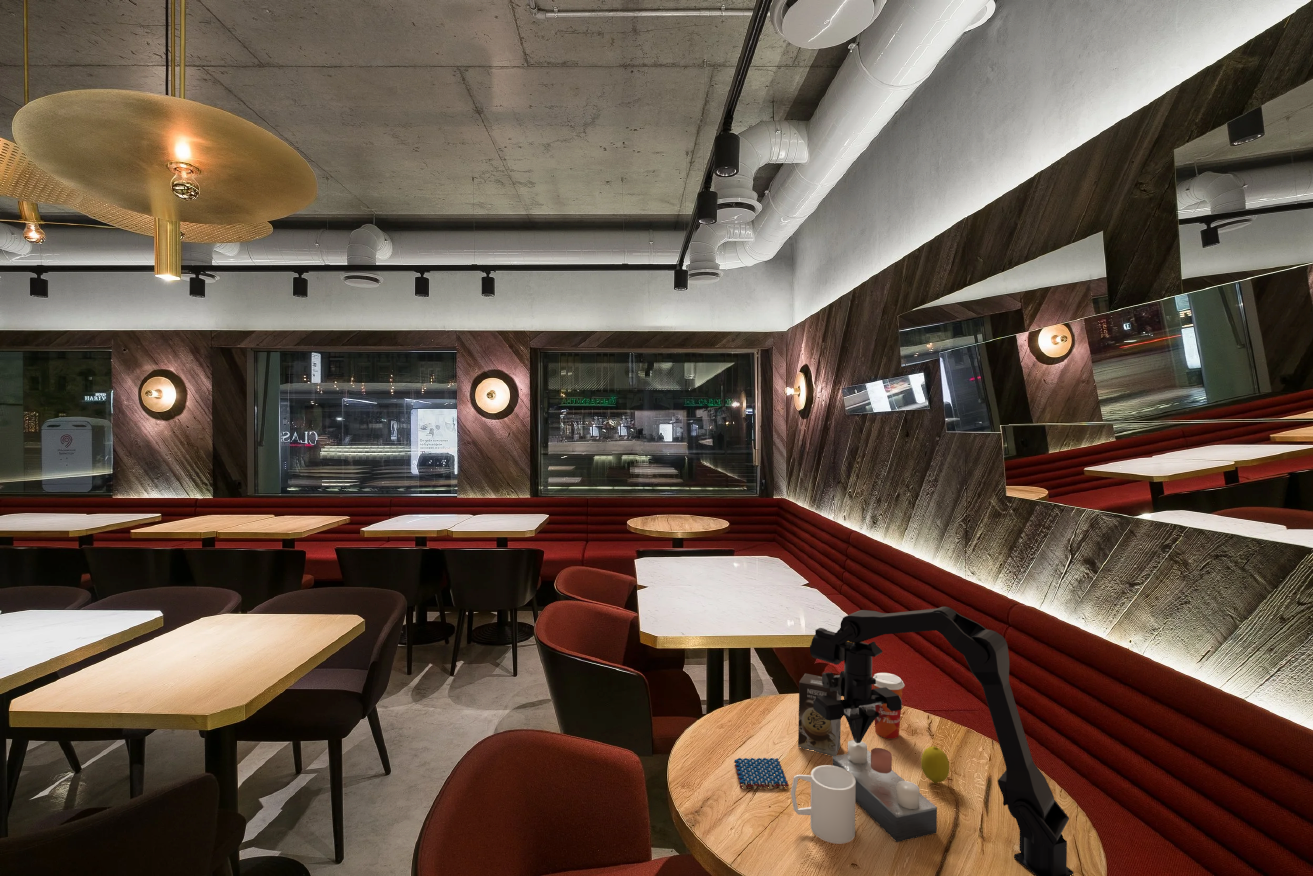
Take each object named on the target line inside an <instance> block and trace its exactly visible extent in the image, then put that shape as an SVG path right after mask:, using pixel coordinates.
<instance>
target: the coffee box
mask: <svg viewBox="0 0 1313 876" xmlns="http://www.w3.org/2000/svg"><path fill="white" fill-rule="evenodd" d="M825 695H831V696H832V697H834V698H835V699H836V700H842V696H840V695H838V691H830V688H824V687H823V684H822V676H820V675H815V674H811V673H804V675H803V676H802V677H801V678H800V680H799V681H798V735H797V737H798V738H797V740H798V741H797V747H801V748H804V749H803V750H805V749H809V750H814V751H816V752H819V753H818V754H820V753H823V754H822V755H824V754H827V755H826V756H828V755H830V756H829V757H832V756H837V755H838V753H839V751H838V750H840V747H841V727H842V726H841V725H842V724H841V723H842V721H841V720H842V718H841V719H837V720H831V721H830V720H826V719H825V718H824V717H822V716H821V715H820V714H819V713H818V712H816V711H815V710H814V709H813V701H814V699H815V698H816V697H818V696H825ZM801 748H800V749H801ZM809 750H808V751H809ZM816 752H815V753H816Z"/></svg>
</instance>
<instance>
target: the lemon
mask: <svg viewBox="0 0 1313 876" xmlns="http://www.w3.org/2000/svg"><path fill="white" fill-rule="evenodd" d="M920 764H921V765H920V766H921V771H922V772H923V774H924V776H925V777H926V778H927V779H928V780H929V781H931V782H932V783H933V784H938V783H942V782H944V781H946V780H947V778H948V776H949V773H950V762H949V759H948V756H947V754H946V753H945V752H944V751H943V750H942V749H941V748H939V747H938V746H936V745H933V746H928V747H926V748H925V749H924V751H923V753H922V755H921V758H920Z"/></svg>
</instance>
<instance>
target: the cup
mask: <svg viewBox="0 0 1313 876" xmlns="http://www.w3.org/2000/svg"><path fill="white" fill-rule="evenodd" d="M799 779H800V780H802V781H806V782H809V783H810V806H808V807H801V808H798V801H797V796H796V791H797V786H798V781H799ZM855 795H856V780H855V777H854V776H853V775H852V774H851V773H850V772H849V771H847V770H845V769H843V768H841V767H837V766H833V764H832V765H831V764H828V765H827V764H823V765H818V766H816V767H813V768H812V770H811V772H810V774H796V775H794V776H793V779H792V785H791V790H790V796H791V802H792V808H793V810H794V812H795V813H796V814H797V815H799V816H802V815H803V816H810V829H811V831H812V833H813V834H814V835H815V836H816V837H818V838H819V839H820V840H823V841H824V842H827V843H830V844H835V845H837V844H839V845H840V844H841V845H842V844H846V843H850V842H851V841H852V840H853V839H854V838H855V836H856V802H855Z"/></svg>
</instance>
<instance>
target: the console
mask: <svg viewBox="0 0 1313 876" xmlns="http://www.w3.org/2000/svg"><path fill="white" fill-rule="evenodd" d="M832 766H837V767H841V768H843V769H845V770H847V771H849V772H850V773H851V774H852V775H853V776H854V777H855V780H856V795H855V804H856V805H858V806H859V807H860V808H861V809H862V810H863V811H864V812H865V813H866V814H867V815H868V816H869V817H870V818H871V819H872V820H873V821H874V822H875V823H876V824H877V825H878V826H879V827H881V828H882V830H884V831H885V833H887V834H888V835H889V836H890V837H891V838H892V839H893V840H894V841H895V842H896V843H899V842H904V841H908V840H912V839H917V838H921V837H926V836H930V835H935V834H937V831H938V830H937V828H938V826H937V825H938V821H937V820H938V817H937V816H938V807H937V805H935V804H934V803H933V802H931V801H930V799H928V798H927V797H925V796H924V794H922V793H920V792H919V807H918V808H916V809H908V808H905V807H902V806H901V805H899V804H898V802H897V783H898V782H900V781H906V780H905V779H903V777H901V776H900V775H899V774H898V773H896V772H895V771H894V770H893V769H892V771H891V772H890V773H879V772H877V771H875V770H873V769H872V768H871V750H868V749H867V762H866V763H862V764H859V763H854V762H852V761H850V760H849V759H848V753H844V754H837V755H836V756H833V757H832Z"/></svg>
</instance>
